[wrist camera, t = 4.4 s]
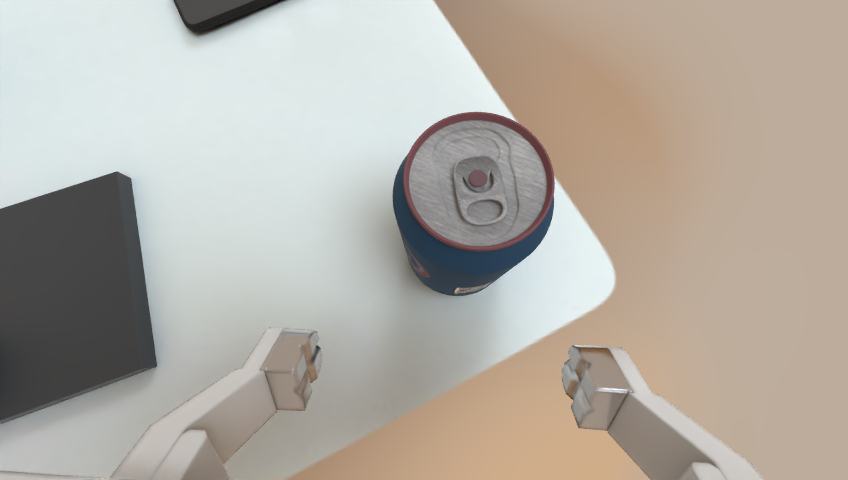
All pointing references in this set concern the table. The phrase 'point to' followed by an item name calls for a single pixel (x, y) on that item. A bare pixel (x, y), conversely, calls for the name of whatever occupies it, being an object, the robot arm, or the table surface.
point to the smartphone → (214, 11)
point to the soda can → (472, 201)
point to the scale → (71, 295)
